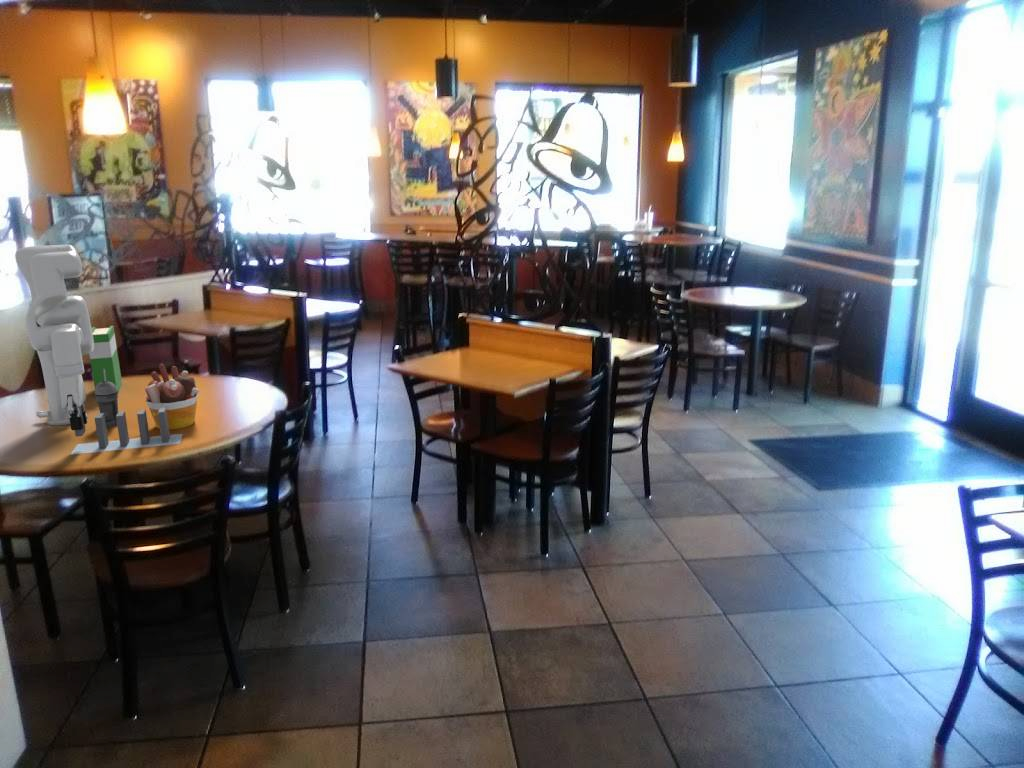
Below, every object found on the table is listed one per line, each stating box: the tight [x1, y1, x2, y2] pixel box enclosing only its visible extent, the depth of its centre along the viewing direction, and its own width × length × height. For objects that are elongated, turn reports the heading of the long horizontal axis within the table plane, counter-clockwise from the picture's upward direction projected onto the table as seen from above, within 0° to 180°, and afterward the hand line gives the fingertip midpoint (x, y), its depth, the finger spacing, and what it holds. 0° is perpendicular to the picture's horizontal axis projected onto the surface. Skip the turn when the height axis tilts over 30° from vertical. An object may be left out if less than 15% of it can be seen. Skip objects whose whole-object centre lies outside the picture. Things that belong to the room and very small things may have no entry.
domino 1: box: [73, 405, 86, 438], centre depth 250 cm, size 2×5×10 cm, turn 16°
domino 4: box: [136, 408, 151, 445], centre depth 256 cm, size 2×5×10 cm, turn 16°
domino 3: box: [116, 410, 130, 447], centre depth 254 cm, size 2×5×10 cm, turn 16°
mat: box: [70, 433, 184, 456], centre depth 256 cm, size 31×10×1 cm, turn 106°
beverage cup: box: [94, 369, 119, 429], centre depth 273 cm, size 7×7×20 cm
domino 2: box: [94, 412, 109, 449], centre depth 253 cm, size 2×5×10 cm, turn 16°
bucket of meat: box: [144, 363, 201, 431], centre depth 272 cm, size 20×16×20 cm
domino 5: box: [158, 407, 171, 443], centre depth 257 cm, size 2×5×10 cm, turn 16°
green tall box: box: [88, 325, 123, 394], centre depth 317 cm, size 18×7×24 cm, turn 20°
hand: (79, 426), depth 250 cm, fingers closed on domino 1, 4 cm apart
